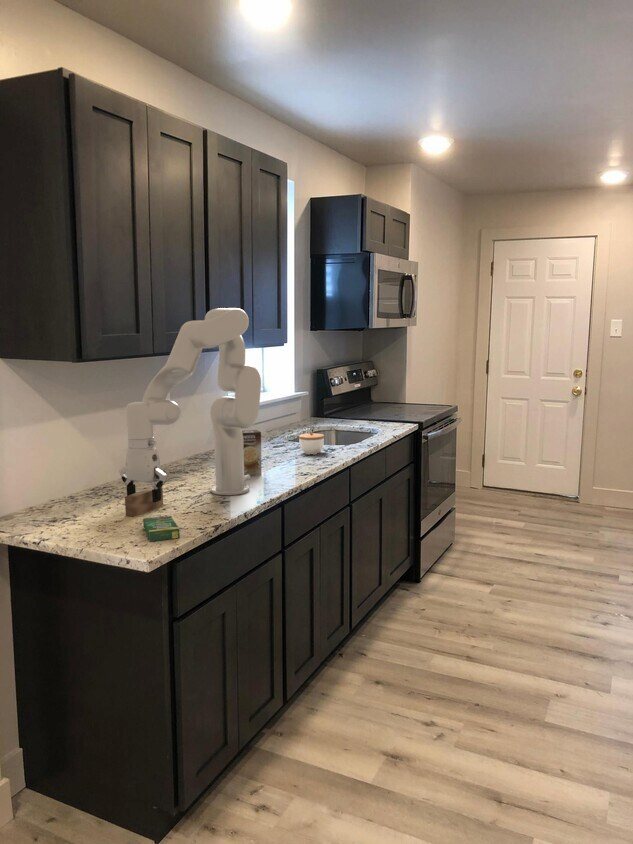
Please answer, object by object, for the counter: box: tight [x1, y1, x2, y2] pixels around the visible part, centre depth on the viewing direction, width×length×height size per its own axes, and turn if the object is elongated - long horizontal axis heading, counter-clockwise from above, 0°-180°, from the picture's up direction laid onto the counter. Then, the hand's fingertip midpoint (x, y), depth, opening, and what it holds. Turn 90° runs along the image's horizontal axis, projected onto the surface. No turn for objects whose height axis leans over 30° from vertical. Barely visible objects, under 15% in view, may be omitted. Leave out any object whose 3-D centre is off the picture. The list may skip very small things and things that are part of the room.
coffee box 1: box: [142, 515, 181, 542], centre depth 182 cm, size 8×3×13 cm
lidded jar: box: [298, 431, 325, 455], centre depth 288 cm, size 11×11×9 cm
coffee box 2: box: [242, 429, 263, 477], centre depth 249 cm, size 9×6×16 cm
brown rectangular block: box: [124, 486, 164, 518], centre depth 203 cm, size 14×2×6 cm, turn 154°
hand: (144, 499), depth 203 cm, fingers open, 9 cm apart
